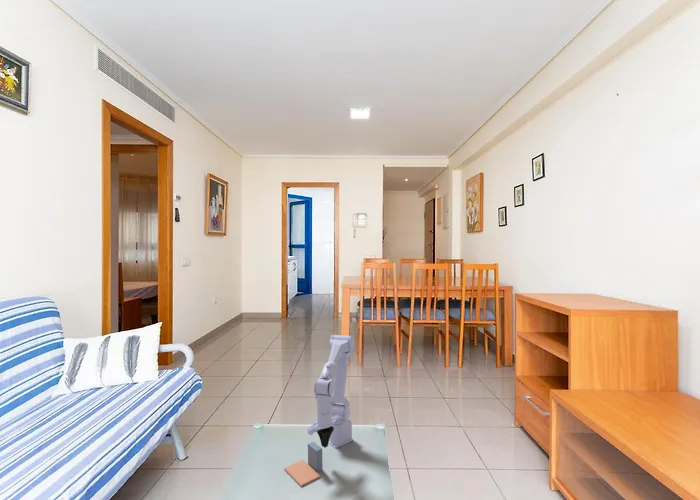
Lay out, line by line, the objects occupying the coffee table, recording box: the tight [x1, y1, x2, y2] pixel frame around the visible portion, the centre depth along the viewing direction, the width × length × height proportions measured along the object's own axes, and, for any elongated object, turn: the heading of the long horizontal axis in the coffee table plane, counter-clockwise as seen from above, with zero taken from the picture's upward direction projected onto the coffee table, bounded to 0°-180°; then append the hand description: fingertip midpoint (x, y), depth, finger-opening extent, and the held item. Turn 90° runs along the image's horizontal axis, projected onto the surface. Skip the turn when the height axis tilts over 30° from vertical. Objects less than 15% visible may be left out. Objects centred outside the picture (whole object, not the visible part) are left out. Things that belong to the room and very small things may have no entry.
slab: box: [307, 441, 323, 473], centre depth 134 cm, size 2×6×8 cm, turn 38°
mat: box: [283, 459, 321, 487], centre depth 131 cm, size 8×12×1 cm, turn 38°
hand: (324, 446), depth 137 cm, fingers closed
